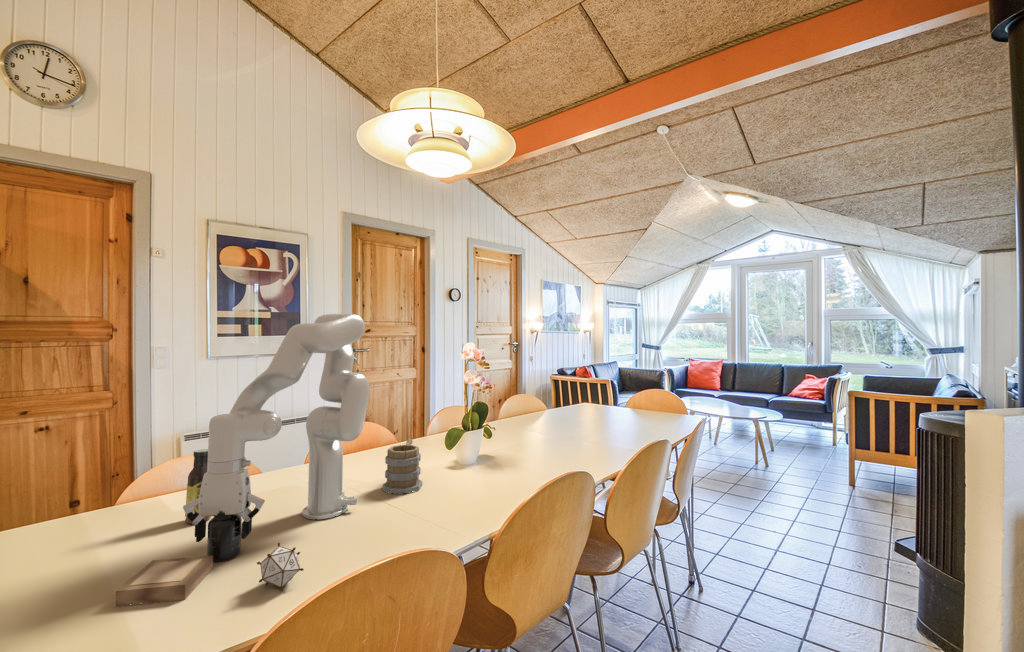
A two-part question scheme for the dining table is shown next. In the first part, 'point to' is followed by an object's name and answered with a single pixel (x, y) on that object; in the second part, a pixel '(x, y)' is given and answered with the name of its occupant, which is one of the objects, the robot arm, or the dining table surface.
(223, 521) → the supplement bottle
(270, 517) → the dining table surface
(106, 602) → the dining table surface
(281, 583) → the game die
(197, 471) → the sauce bottle
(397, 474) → the tankard
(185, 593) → the walnut base
